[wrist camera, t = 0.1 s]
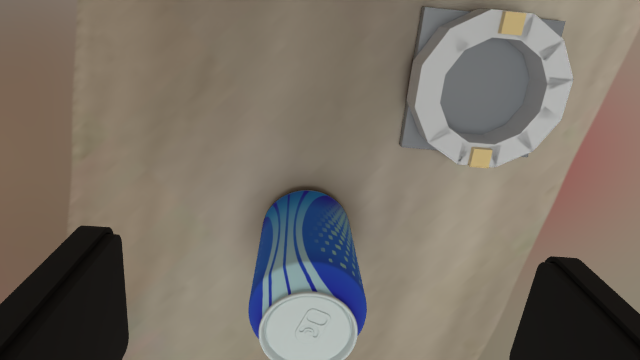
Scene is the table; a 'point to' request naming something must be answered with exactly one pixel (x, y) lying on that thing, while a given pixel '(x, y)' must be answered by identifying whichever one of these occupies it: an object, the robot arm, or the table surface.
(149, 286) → the table surface
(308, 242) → the beer can
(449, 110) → the socket
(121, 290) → the robot arm
